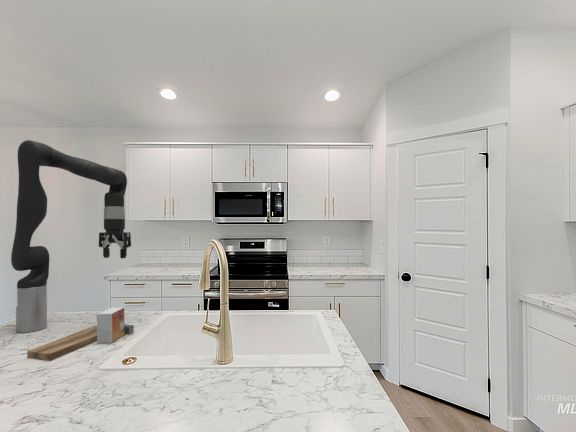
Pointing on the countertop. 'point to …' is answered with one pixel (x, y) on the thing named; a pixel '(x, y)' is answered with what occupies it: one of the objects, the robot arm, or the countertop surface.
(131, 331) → the block
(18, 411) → the countertop surface
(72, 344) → the plank
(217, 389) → the countertop surface
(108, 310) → the small box
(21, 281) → the robot arm
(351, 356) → the countertop surface
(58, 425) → the countertop surface
